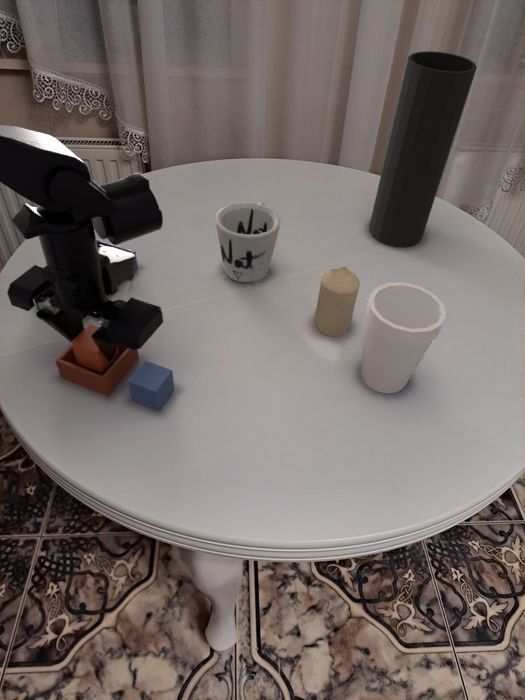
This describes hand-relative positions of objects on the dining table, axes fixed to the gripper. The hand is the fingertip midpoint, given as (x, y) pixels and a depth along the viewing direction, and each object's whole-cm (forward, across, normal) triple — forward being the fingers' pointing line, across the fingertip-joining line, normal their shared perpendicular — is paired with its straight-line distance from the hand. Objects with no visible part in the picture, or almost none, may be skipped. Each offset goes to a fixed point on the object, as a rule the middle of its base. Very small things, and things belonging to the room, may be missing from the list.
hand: (97, 353), depth 68 cm
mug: (+3, -8, -32) cm, 33 cm away
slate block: (+3, -9, +1) cm, 10 cm away
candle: (+3, -26, -23) cm, 35 cm away
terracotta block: (+1, 0, 0) cm, 1 cm away
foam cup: (+3, -36, -16) cm, 40 cm away
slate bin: (+3, +12, -14) cm, 19 cm away
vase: (+3, -29, -54) cm, 61 cm away
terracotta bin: (+3, 0, 0) cm, 3 cm away
